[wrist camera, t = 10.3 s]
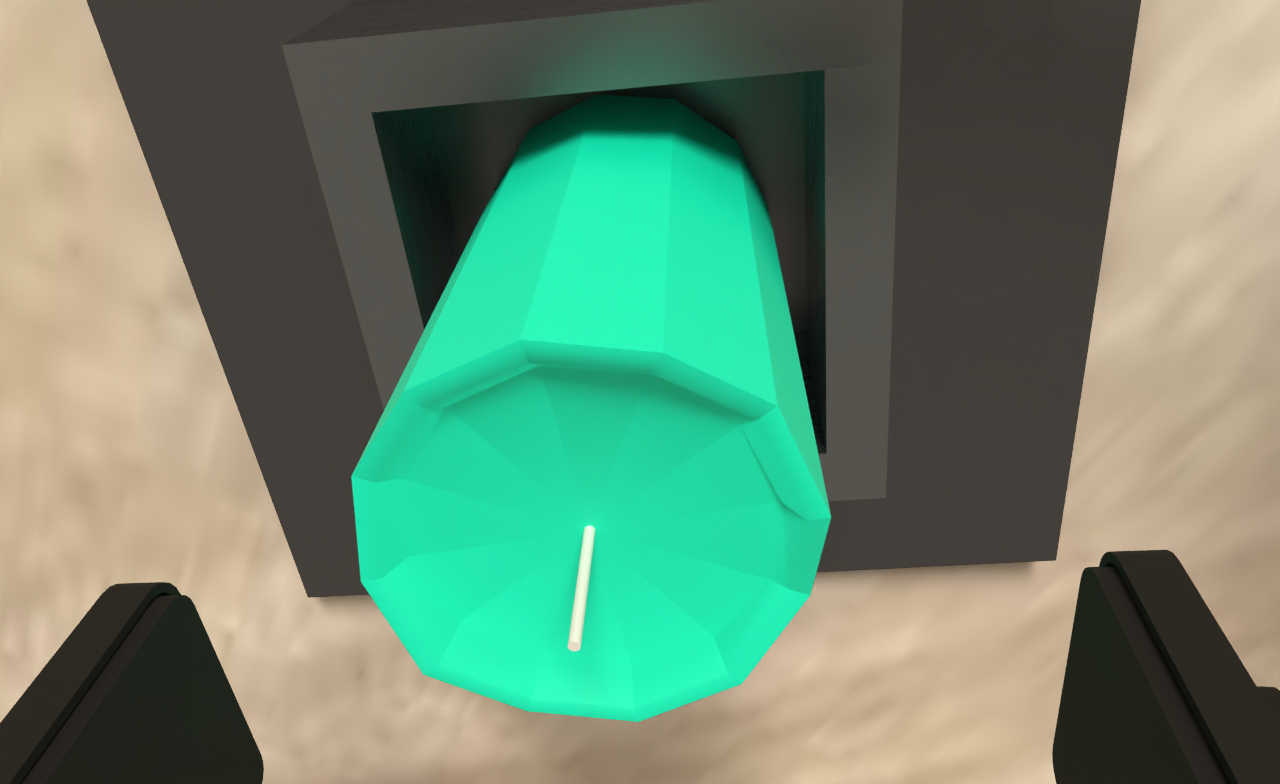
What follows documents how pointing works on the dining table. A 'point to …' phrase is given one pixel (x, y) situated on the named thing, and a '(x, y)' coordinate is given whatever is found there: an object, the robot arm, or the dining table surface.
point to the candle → (601, 431)
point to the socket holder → (781, 164)
